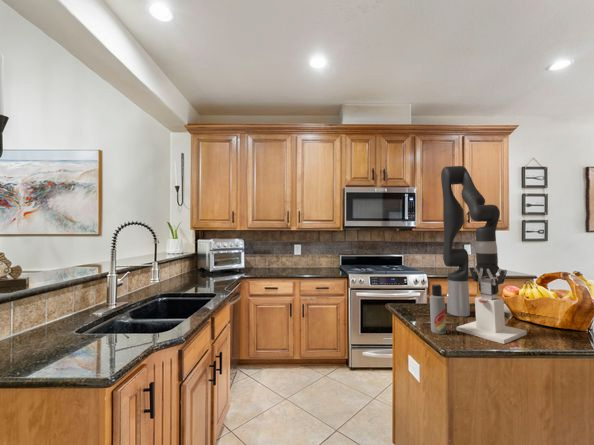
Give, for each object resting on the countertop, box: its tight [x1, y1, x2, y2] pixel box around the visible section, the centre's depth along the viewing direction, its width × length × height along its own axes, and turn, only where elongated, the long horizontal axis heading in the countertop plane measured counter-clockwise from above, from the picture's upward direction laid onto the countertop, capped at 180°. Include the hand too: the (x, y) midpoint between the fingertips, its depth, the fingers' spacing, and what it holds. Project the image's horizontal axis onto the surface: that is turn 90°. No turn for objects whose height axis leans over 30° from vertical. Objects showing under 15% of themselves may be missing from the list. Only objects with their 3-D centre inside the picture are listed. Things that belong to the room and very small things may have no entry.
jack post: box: [479, 277, 498, 300], centre depth 119 cm, size 5×5×20 cm
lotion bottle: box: [429, 283, 447, 335], centre depth 121 cm, size 6×6×20 cm
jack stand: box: [456, 296, 528, 345], centre depth 119 cm, size 18×18×14 cm
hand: (488, 292), depth 119 cm, fingers closed on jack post, 4 cm apart
